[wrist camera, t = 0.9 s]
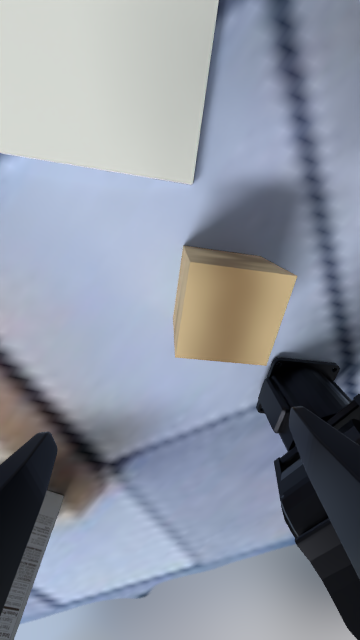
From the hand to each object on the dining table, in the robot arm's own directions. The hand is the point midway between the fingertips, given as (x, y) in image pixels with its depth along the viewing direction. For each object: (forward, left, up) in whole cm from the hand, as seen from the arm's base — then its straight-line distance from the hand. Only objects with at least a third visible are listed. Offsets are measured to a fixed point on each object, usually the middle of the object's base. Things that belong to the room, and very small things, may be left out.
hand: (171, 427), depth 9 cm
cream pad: (+6, -15, -12) cm, 20 cm away
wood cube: (-3, -2, -12) cm, 13 cm away
